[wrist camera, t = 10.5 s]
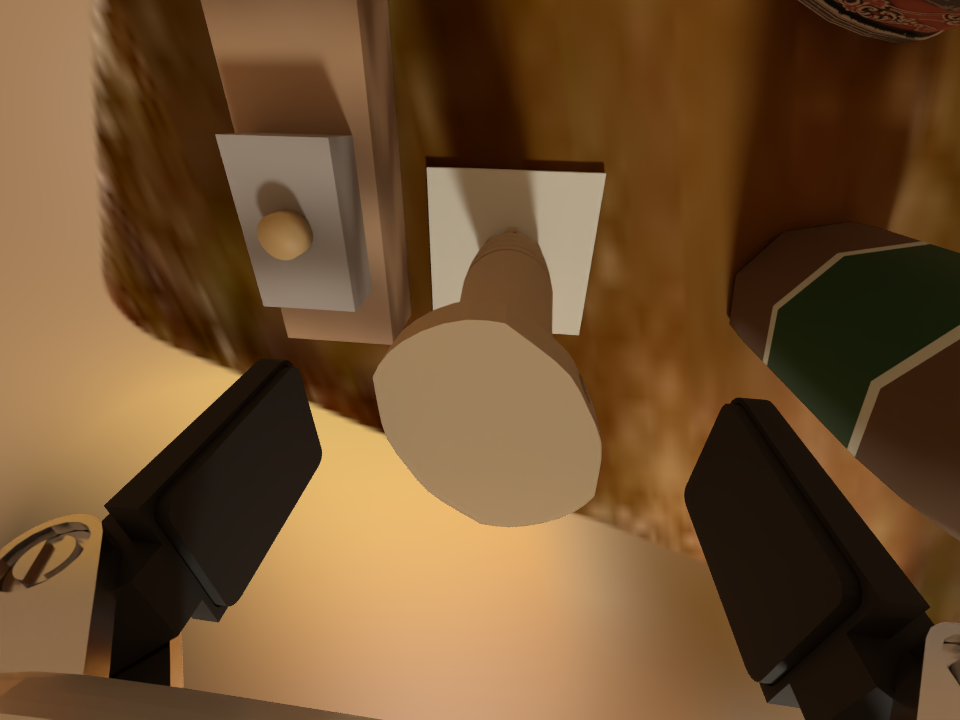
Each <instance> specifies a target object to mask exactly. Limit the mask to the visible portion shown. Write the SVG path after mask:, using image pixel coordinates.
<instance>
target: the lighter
mask: <svg viewBox="0 0 960 720" xmlns="http://www.w3.org/2000/svg"><path fill="white" fill-rule="evenodd" d="M798 1H799V2H801V3H802V4H803V5H805V6H806V7H808V8H809V9H811V10H812V11H813V12H815V13H816V14H818V15H819V16H821V17H822V18H824V19H825V20H826V21H828V22H831V23H833V24H835V25H838V26H840V27H843V28H845V29H847V30H850V31H852V32H855V33H857V34H860V35H862V36H867V37H871V38H875V39H880V40H884V41H889V42H893V43H911V42H916V41H921V40H926V39H928V38H931V37H933V36H936V35H938V34H940V33H941V32H943V31H944V30H946V29H951V28H956V27H960V0H798Z"/></svg>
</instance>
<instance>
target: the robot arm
mask: <svg viewBox="0 0 960 720" xmlns="http://www.w3.org/2000/svg"><path fill="white" fill-rule="evenodd" d="M321 458H322V449H321V445H320V442H319V439H318V435H317V431H316V428H315V424H314V421H313V417H312V413H311V410H310V406H309V403H308V399H307V396H306V392H305V389H304V385H303V382H302V378H301V374H300V372H299V370H298V369H297V368H296V367H293V365H292V363H291V362H290V361H288V360H279V359H267V358H264V359H260V360H259V361H257V362H256V363H255V364H254V365H253V366H252V367H251V368H250V369H249V370H248V371H247V372H246V373H244V374H243V375H242V376H241V377H240V378H239V379H238V380H237V381H236V382H235V383H234V384H233V385H232V386H231V387H230V388H229V389H228V390H227V391H225V392H224V393H223V394H222V395H221V396H220V397H219V398H218V399H217V400H216V401H215V402H214V403H213V404H212V405H211V406H209V407H208V408H207V409H206V410H205V411H204V412H203V413H202V414H201V415H200V416H199V417H198V418H197V419H196V420H194V422H192V423H191V424H190V425H189V426H188V427H187V428H186V429H185V430H184V431H183V432H182V433H181V434H180V435H179V436H177V437H176V438H175V439H174V440H173V441H172V442H171V443H170V444H169V445H168V446H167V447H166V448H165V449H164V450H163V451H162V452H161V453H159V454H158V455H157V456H156V457H155V458H154V459H153V460H152V461H151V462H150V463H149V464H148V465H147V466H146V467H145V468H143V469H142V470H141V471H140V472H139V473H138V474H137V475H136V476H135V477H134V478H133V479H132V480H131V481H130V482H129V483H127V484H126V485H125V486H124V487H123V488H122V489H121V490H120V491H119V492H118V493H117V494H116V495H115V496H114V497H113V498H112V499H110V500H109V501H108V502H107V503H106V504H105V505H104V507H105V508H106V509H107V510H108V512H109V513H110V514H109V515H108V516H107V517H106V518H105V519H104V520H103V521H102V522H101V521H100V520H98V518H96V517H95V516H92V515H88V514H73V515H67V516H63V517H59V518H56V519H52V520H50V521H47V522H45V523H43V524H41V525H38V526H36V527H34V528H32V529H31V530H29V531H27V532H25V533H23V534H22V535H20V536H19V537H17V538H15V539H14V540H12V541H11V542H10V543H9V544H7V545H6V546H5V547H3V548H2V549H1V550H0V720H379V719H373V718H367V717H361V716H355V715H349V714H343V713H337V712H330V711H324V710H318V709H312V708H305V707H299V706H292V705H286V704H280V703H273V702H267V701H261V700H255V699H249V698H242V697H236V696H230V695H223V694H217V693H211V692H205V691H198V690H192V689H185V688H184V686H183V685H184V684H183V658H182V629H183V628H184V626H185V625H186V623H187V622H188V620H189V619H190V617H192V618H193V619H200V620H206V621H213V622H219V621H220V619H221V617H222V615H223V614H224V613H225V611H226V609H227V607H228V606H232V605H234V604H235V603H236V602H237V601H238V600H239V599H240V597H241V596H242V594H243V592H244V591H245V589H246V587H247V586H248V584H249V582H250V581H251V579H252V577H253V575H254V574H255V572H256V570H257V569H258V567H259V565H260V564H261V562H262V560H263V559H264V557H265V555H266V553H267V552H268V550H269V549H270V547H271V545H272V544H273V542H274V540H275V538H276V537H277V535H278V533H279V532H280V530H281V528H282V527H283V525H284V523H285V522H286V520H287V518H288V516H289V515H290V513H291V511H292V510H293V508H294V507H295V505H296V503H297V501H298V500H299V498H300V496H301V495H302V493H303V491H304V490H305V488H306V486H307V485H308V483H309V481H310V480H311V478H312V476H313V475H314V473H315V471H316V469H317V468H318V466H319V464H320V461H321ZM684 498H685V503H686V507H687V509H688V512H689V515H690V517H691V520H692V523H693V526H694V528H695V531H696V534H697V536H698V539H699V542H700V545H701V547H702V550H703V553H704V556H705V558H706V561H707V564H708V566H709V569H710V572H711V575H712V577H713V580H714V583H715V585H716V588H717V591H718V594H719V596H720V599H721V602H722V604H723V607H724V610H725V612H726V615H727V618H728V620H729V623H730V626H731V629H732V632H733V634H734V637H735V640H736V643H737V645H738V648H739V651H740V653H741V656H742V659H743V662H744V664H745V667H746V669H747V671H748V673H749V675H750V676H751V678H752V679H753V680H754V681H756V682H759V683H760V686H761V688H762V691H763V693H764V696H765V699H766V701H767V703H770V704H777V705H784V706H790V707H797V708H800V709H801V711H802V713H803V716H804V718H805V720H960V623H944V622H942V623H940V624H937V625H934V624H933V622H932V621H931V620H930V618H929V617H928V616H927V614H926V613H925V611H926V610H927V609H929V608H930V606H929V605H928V603H927V602H926V601H925V600H924V598H923V597H922V596H921V594H920V593H919V592H918V591H917V589H916V588H915V587H914V585H913V584H912V583H911V582H910V580H909V579H908V578H907V576H906V575H905V574H904V572H903V571H902V570H901V569H900V567H899V566H898V565H897V563H896V562H895V561H894V560H893V558H892V557H891V556H890V554H889V553H888V552H887V551H886V549H885V548H884V547H883V545H882V544H881V543H880V541H879V540H878V539H877V538H876V536H875V535H874V534H873V532H872V531H871V530H870V529H869V527H868V526H867V525H866V523H865V522H864V521H863V520H862V518H861V517H860V516H859V514H858V513H857V512H856V511H855V509H854V508H853V507H852V505H851V504H850V503H849V501H848V500H847V499H846V498H845V496H844V495H843V494H842V492H841V491H840V490H839V489H838V487H837V486H836V485H835V483H834V482H833V481H832V480H831V478H830V477H829V476H828V474H827V473H826V472H825V470H824V469H823V468H822V467H821V465H820V464H819V463H818V461H817V460H816V459H815V458H814V456H813V455H812V454H811V452H810V451H809V450H808V449H807V447H806V446H805V445H804V443H803V442H802V441H801V439H800V438H799V437H798V436H797V434H796V433H795V432H794V430H793V429H792V428H791V427H790V425H789V424H788V423H787V421H786V420H785V419H784V418H783V416H782V415H781V414H780V412H779V411H778V410H777V409H776V407H775V406H774V405H773V404H772V403H771V402H770V401H768V400H761V399H749V398H735V399H734V400H733V401H732V402H731V403H730V404H725V405H724V406H723V407H722V408H721V410H720V413H719V415H718V417H717V419H716V421H715V424H714V426H713V428H712V430H711V432H710V435H709V437H708V439H707V441H706V443H705V446H704V448H703V450H702V452H701V454H700V457H699V459H698V461H697V463H696V465H695V468H694V470H693V472H692V474H691V476H690V479H689V481H688V483H687V485H686V488H685V493H684Z"/></svg>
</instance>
